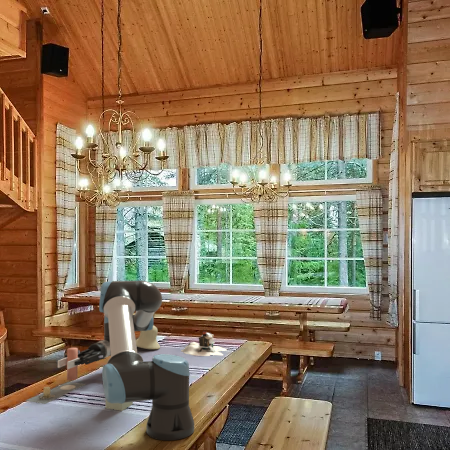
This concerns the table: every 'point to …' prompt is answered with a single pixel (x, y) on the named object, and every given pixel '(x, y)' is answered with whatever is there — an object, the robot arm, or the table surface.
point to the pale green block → (117, 405)
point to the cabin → (203, 346)
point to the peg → (71, 355)
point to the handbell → (148, 339)
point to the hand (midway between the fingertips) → (63, 364)
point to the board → (55, 392)
